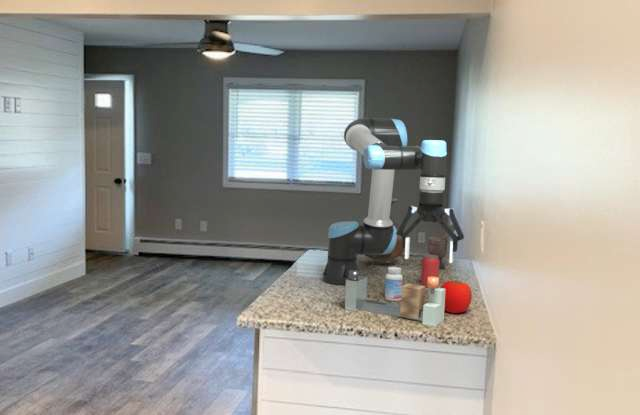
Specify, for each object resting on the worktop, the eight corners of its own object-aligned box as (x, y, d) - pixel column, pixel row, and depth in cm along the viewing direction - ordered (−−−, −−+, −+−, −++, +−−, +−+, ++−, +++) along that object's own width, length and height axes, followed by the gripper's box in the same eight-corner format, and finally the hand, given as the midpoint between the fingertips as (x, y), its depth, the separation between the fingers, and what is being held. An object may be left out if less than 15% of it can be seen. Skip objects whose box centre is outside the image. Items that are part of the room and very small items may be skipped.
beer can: (438, 288, 231) (439, 257, 230) (420, 287, 232) (422, 256, 231) (438, 284, 238) (439, 254, 236) (421, 283, 239) (422, 253, 237)
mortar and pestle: (451, 265, 275) (453, 222, 273) (454, 269, 266) (457, 225, 264) (425, 264, 276) (428, 221, 273) (428, 268, 267) (430, 224, 265)
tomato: (441, 305, 207) (442, 275, 205) (472, 310, 203) (474, 278, 201) (434, 313, 197) (436, 281, 196) (467, 318, 193) (469, 285, 192)
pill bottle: (397, 302, 209) (398, 270, 208) (381, 299, 213) (383, 268, 211) (404, 298, 214) (406, 267, 213) (389, 296, 218) (390, 265, 216)
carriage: (400, 316, 190) (401, 286, 189) (406, 312, 195) (407, 283, 194) (418, 319, 187) (419, 289, 186) (424, 315, 192) (425, 286, 191)
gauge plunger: (425, 293, 184) (426, 277, 183) (429, 291, 187) (429, 275, 186) (436, 295, 182) (436, 279, 182) (439, 293, 185) (440, 277, 185)
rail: (344, 309, 198) (346, 270, 197) (355, 304, 205) (356, 266, 204) (422, 323, 185) (424, 282, 184) (431, 317, 192) (433, 277, 191)
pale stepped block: (422, 324, 185) (424, 292, 184) (431, 317, 192) (433, 286, 191) (434, 326, 183) (436, 294, 182) (443, 319, 190) (445, 288, 189)
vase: (368, 257, 288) (370, 195, 285) (408, 261, 281) (411, 197, 278) (354, 266, 266) (357, 199, 263) (397, 271, 260) (400, 202, 257)
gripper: (388, 189, 183) (386, 258, 185) (472, 194, 175) (468, 266, 177) (394, 188, 190) (391, 254, 192) (475, 192, 182) (471, 261, 184)
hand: (428, 260), depth 185 cm, fingers open, 13 cm apart
